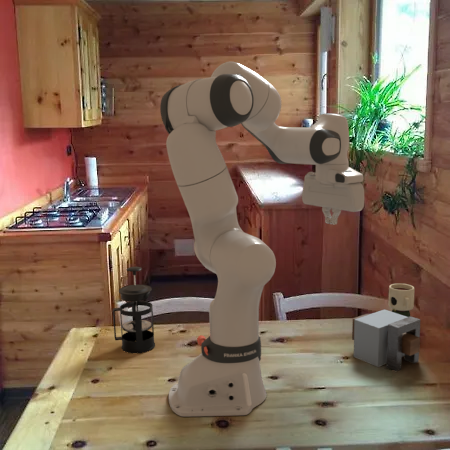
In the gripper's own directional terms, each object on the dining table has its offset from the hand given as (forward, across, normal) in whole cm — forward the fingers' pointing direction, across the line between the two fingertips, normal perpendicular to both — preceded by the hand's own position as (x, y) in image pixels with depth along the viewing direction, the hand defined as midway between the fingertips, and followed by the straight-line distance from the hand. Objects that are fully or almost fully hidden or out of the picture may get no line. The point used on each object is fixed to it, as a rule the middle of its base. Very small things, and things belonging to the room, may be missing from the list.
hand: (331, 223), depth 161 cm
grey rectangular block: (+33, +18, 0) cm, 38 cm away
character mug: (+33, +9, +20) cm, 40 cm away
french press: (+33, -29, -47) cm, 65 cm away
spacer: (+33, +25, 0) cm, 41 cm away
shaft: (+30, +19, +1) cm, 36 cm away
